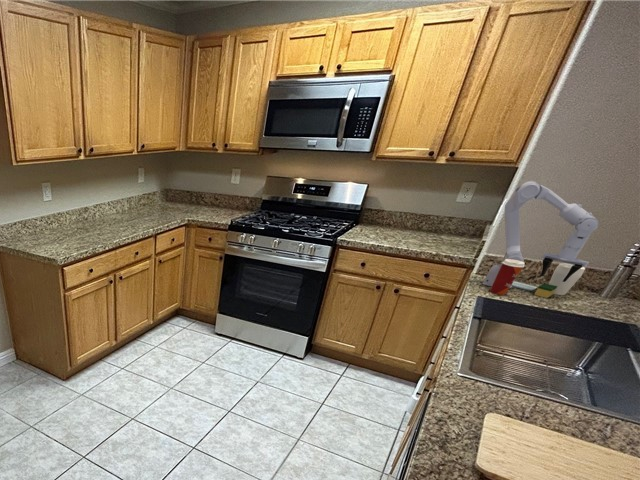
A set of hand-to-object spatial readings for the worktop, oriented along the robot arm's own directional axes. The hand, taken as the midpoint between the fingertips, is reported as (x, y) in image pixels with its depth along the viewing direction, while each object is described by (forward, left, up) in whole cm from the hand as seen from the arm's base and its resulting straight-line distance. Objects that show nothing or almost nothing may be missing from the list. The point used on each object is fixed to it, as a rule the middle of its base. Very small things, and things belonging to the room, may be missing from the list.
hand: (552, 278), depth 179 cm
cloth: (-10, +5, -7) cm, 13 cm away
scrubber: (0, 0, -7) cm, 7 cm away
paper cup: (-12, -15, -8) cm, 21 cm away
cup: (+2, +9, -8) cm, 12 cm away
